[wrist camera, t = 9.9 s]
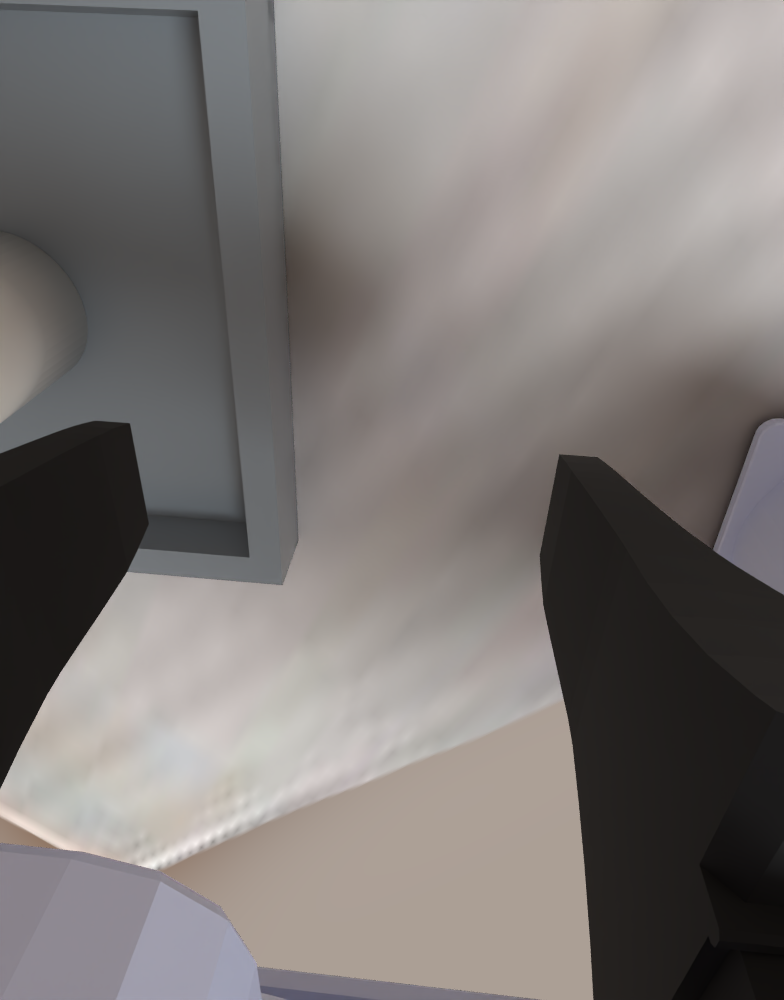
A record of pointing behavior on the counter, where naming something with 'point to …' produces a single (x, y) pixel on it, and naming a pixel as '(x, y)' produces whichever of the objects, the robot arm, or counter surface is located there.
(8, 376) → the shaker
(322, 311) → the counter surface
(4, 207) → the tray
